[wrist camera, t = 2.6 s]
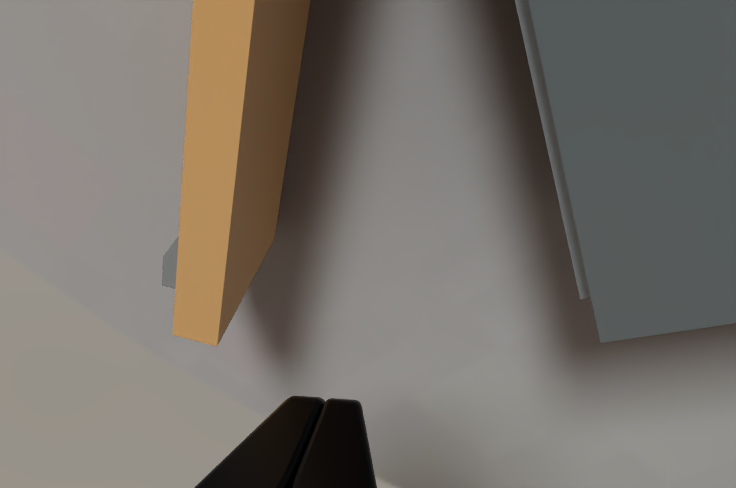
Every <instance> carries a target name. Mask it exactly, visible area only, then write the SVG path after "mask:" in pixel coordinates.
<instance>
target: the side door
mask: <svg viewBox="0 0 736 488" xmlns="http://www.w3.org/2000/svg"><path fill="white" fill-rule="evenodd" d="M310 1H311V0H193V12H192V28H191V45H190V61H189V77H188V93H187V110H186V126H185V142H184V158H183V174H182V191H181V207H180V223H179V236H178V238H177V239H176V240H175V242H174V243H173V244H172V246H171V247H170V248H169V250H168V251H167V252H166V253H165V255H164V256H163V277H162V285H163V286H167V287H171V288H174V289H175V304H174V321H173V335H175V336H179V337H182V338H186V339H190V340H194V341H197V342H201V343H205V344H209V345H213V346H216V347H217V346H218V344H219V342H220V340H221V338H222V336H223V334H224V333H225V331H226V329H227V327H228V325H229V323H230V321H231V319H232V317H233V316H234V314H235V312H236V310H237V308H238V306H239V304H240V302H241V301H242V299H243V297H244V295H245V293H246V291H247V289H248V287H249V285H250V284H251V282H252V280H253V278H254V276H255V274H256V272H257V270H258V268H259V267H260V265H261V263H262V261H263V259H264V257H265V255H266V253H267V252H268V250H269V248H270V246H271V244H272V242H273V240H274V238H275V232H276V225H277V218H278V212H279V205H280V199H281V192H282V185H283V179H284V172H285V166H286V159H287V153H288V146H289V139H290V133H291V126H292V120H293V113H294V106H295V100H296V93H297V87H298V80H299V73H300V67H301V60H302V54H303V47H304V40H305V34H306V27H307V21H308V14H309V8H310Z"/></svg>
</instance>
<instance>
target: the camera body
mask: <svg viewBox="0 0 736 488" xmlns="http://www.w3.org/2000/svg"><path fill="white" fill-rule="evenodd" d="M515 3H516V8H517V12H518V17H519V22H520V26H521V31H522V35H523V40H524V44H525V49H526V54H527V58H528V63H529V67H530V72H531V76H532V81H533V85H534V90H535V95H536V99H537V104H538V108H539V113H540V117H541V122H542V127H543V131H544V136H545V140H546V145H547V149H548V154H549V159H550V163H551V168H552V172H553V177H554V181H555V186H556V191H557V195H558V200H559V204H560V209H561V213H562V218H563V223H564V227H565V232H566V236H567V241H568V245H569V250H570V255H571V259H572V264H573V268H574V273H575V277H576V282H577V287H578V291H579V296H580V299H586V298H591V301H592V306H593V311H594V316H595V320H596V325H597V330H598V335H599V339H600V343H604V342H611V341H618V340H625V339H632V338H639V337H645V336H652V335H659V334H666V333H673V332H680V331H687V330H694V329H700V328H707V327H714V326H721V325H728V324H735V323H736V0H515Z"/></svg>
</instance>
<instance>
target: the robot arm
mask: <svg viewBox="0 0 736 488" xmlns="http://www.w3.org/2000/svg"><path fill="white" fill-rule="evenodd" d="M195 488H377V486H376V480H375V475H374V470H373V464H372V459H371V453H370V448H369V443H368V437H367V432H366V427H365V421H364V416H363V410H362V406H361V403H360V402H359V401H357V400H348V399H334V398H331V399H328V400H327V401H326V402H325V401H324V400H323V399H322V398H319V397H305V396H292V397H290V398H288V399H287V400H285V401H284V402H283V403H282V404H281V405H280V406H279V407H278V408H277V409H276V410H275V411H274V412H273V413H272V414H271V415H270V416H269V417H268V418H267V419H266V420H264V422H262V423H261V424H260V425H259V426H258V427H257V428H256V429H255V430H254V431H253V432H252V433H251V434H250V435H249V436H248V437H247V438H246V439H245V440H244V441H243V442H242V443H241V444H239V445H238V446H237V447H236V448H235V449H234V450H233V451H232V452H231V453H230V454H229V455H228V456H227V457H226V458H225V459H224V460H223V461H222V462H221V463H220V464H219V465H218V466H216V467H215V468H214V469H213V470H212V471H211V472H210V473H209V474H208V475H207V476H206V477H205V478H204V479H203V480H202V481H201V482H200V483H199V484H198V485H197V486H196V487H195Z"/></svg>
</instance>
